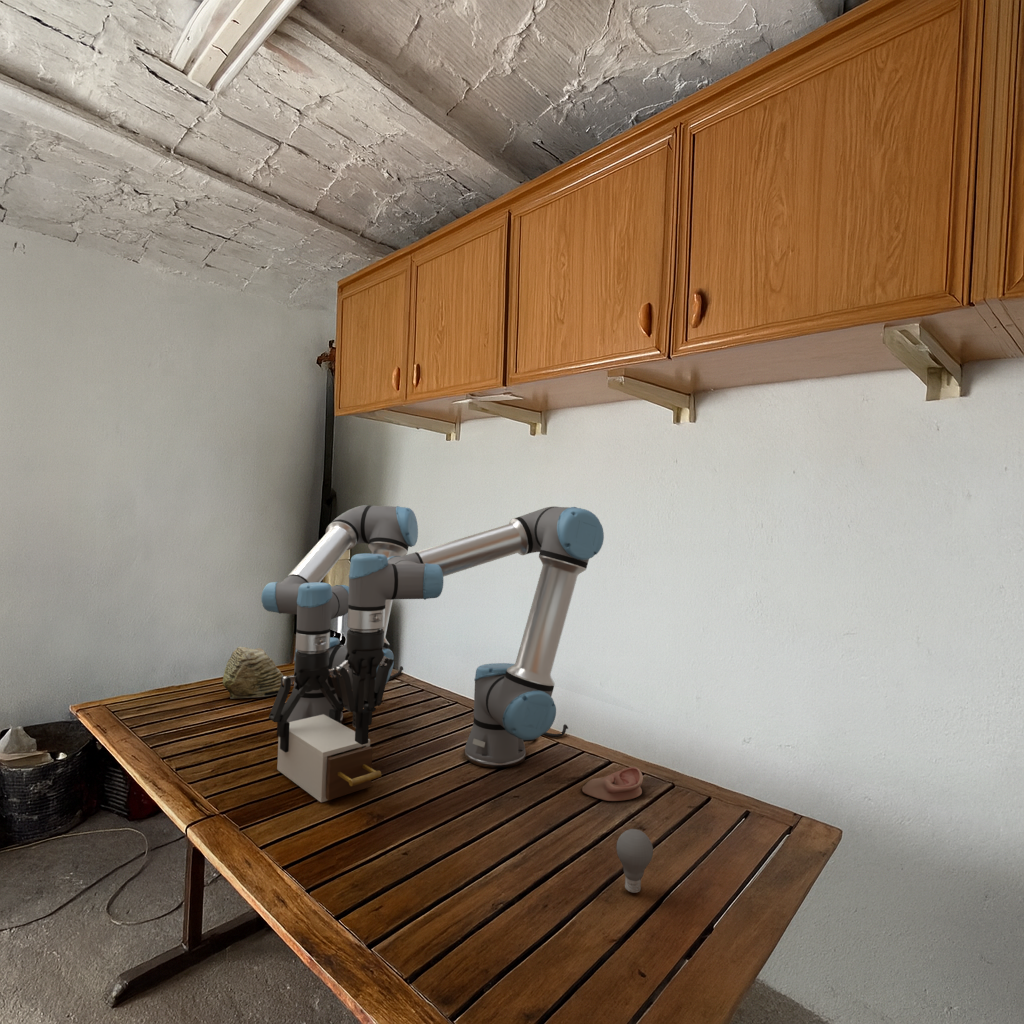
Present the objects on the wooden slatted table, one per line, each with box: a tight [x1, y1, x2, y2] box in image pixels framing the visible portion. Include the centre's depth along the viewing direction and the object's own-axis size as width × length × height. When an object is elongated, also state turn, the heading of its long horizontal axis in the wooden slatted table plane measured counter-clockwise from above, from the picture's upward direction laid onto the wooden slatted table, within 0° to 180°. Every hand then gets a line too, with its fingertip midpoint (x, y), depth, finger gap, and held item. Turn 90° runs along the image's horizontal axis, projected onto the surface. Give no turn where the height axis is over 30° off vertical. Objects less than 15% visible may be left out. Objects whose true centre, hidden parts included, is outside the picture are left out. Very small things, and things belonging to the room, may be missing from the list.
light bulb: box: [615, 828, 654, 894], centre depth 106 cm, size 6×6×10 cm
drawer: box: [326, 745, 382, 801], centre depth 138 cm, size 25×10×8 cm, turn 45°
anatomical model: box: [581, 766, 644, 802], centre depth 142 cm, size 13×4×12 cm
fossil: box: [222, 646, 284, 699], centre depth 198 cm, size 9×18×15 cm, turn 132°
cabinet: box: [276, 714, 371, 804], centre depth 142 cm, size 21×11×10 cm, turn 45°
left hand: (309, 743), depth 147 cm, fingers closed on cabinet, 11 cm apart
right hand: (361, 741), depth 131 cm, fingers closed
